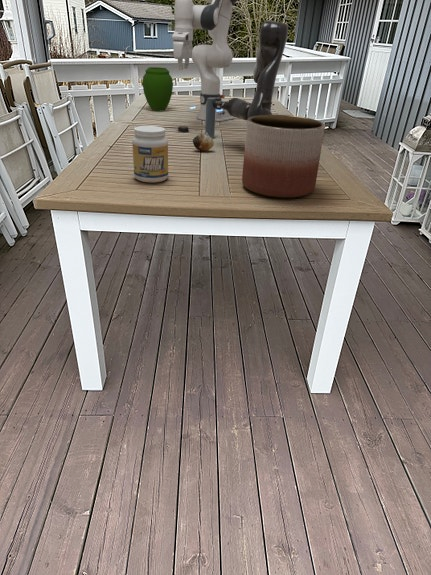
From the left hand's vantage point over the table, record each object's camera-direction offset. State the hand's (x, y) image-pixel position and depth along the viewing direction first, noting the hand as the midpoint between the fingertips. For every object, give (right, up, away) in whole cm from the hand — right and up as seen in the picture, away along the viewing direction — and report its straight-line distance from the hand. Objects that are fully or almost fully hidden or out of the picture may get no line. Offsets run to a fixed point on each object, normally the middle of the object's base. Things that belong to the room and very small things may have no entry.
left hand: (183, 69), depth 202 cm
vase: (-22, +8, +66) cm, 70 cm away
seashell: (+10, -47, -19) cm, 52 cm away
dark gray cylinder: (+13, -32, +5) cm, 35 cm away
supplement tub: (-7, -69, -55) cm, 89 cm away
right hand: (+18, -22, -11) cm, 31 cm away
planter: (+38, -73, -58) cm, 101 cm away
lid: (-1, -23, +15) cm, 28 cm away
